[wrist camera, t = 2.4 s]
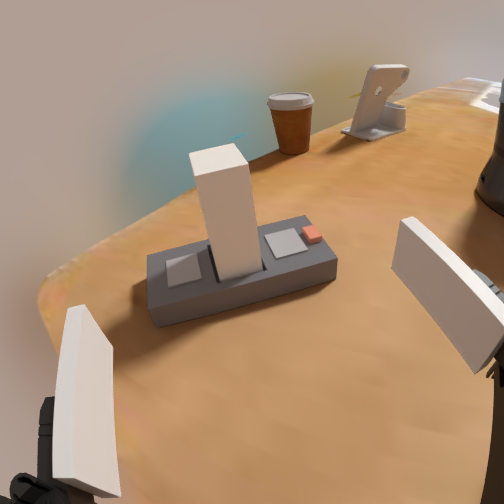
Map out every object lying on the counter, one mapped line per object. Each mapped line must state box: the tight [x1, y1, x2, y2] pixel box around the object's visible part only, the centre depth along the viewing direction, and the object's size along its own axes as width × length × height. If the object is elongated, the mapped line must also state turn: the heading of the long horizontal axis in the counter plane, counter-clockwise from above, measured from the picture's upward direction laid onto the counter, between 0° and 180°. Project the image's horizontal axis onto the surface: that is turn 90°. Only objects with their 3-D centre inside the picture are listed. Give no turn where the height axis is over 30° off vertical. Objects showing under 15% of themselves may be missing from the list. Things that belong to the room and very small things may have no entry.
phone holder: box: [342, 65, 409, 141], centre depth 67 cm, size 17×10×18 cm, turn 124°
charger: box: [189, 143, 263, 283], centre depth 32 cm, size 4×6×13 cm
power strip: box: [147, 215, 338, 328], centre depth 36 cm, size 20×9×4 cm, turn 105°
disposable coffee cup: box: [267, 92, 314, 154], centre depth 62 cm, size 10×10×12 cm
